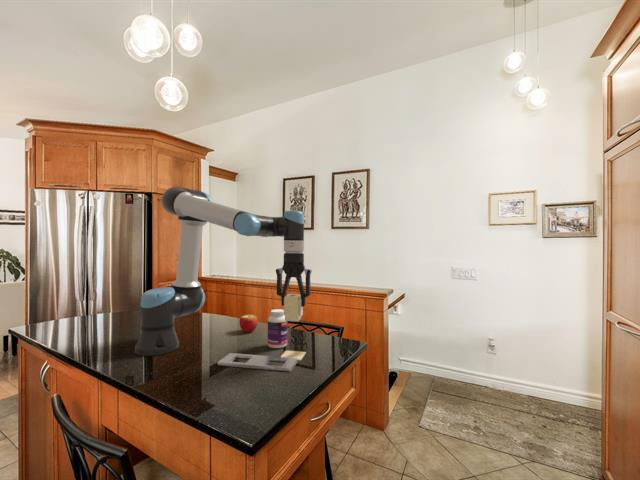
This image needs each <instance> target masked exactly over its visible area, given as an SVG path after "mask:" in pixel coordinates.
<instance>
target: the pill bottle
mask: <svg viewBox="0 0 640 480" xmlns="http://www.w3.org/2000/svg"><path fill="white" fill-rule="evenodd" d="M288 322H289V321H285V315H284V309H281V308H280V309H277V308H276V309H271V310H270V316H268V318H267V346H268V347H269V348H271V349H283V348H285V347H287V346H288Z"/></svg>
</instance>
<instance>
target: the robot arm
mask: <svg viewBox="0 0 640 480" xmlns="http://www.w3.org/2000/svg"><path fill="white" fill-rule="evenodd" d="M161 205H162V207H163V209H164V210H165V211H166V212H167V213H168V214H171V215H174V216H178V217H177V220H178V222H179V223H180V224H181V226H180V234H179V235H180V237H179V247H178V256H177V267H176V277H175V278H176V279H175V280H174V281H173V282H172V283H171V287H170V286H169V287H168V286H164V287H156V288H152V289H149V290H146V291H145V292H143V293H142V294H141V299H140V305H139V306H140V332H139V335H138V338H137V340H136V344H135V347H134V353H135V354H136V355H138V356H144V357H148V356H149V357H150V356H159V355H164V354H167V353H168V354H169V353H171V352H174V351H175V350H177V349H178V348H179V345H180V344H179V342H180V341H179V338H178V335H177V333H176V330H175V319H176V318H179V317H184V316H187V315H192V314H193V313H196V312H198V311H200V310H201V309H202V307H203V306H204V304H205V301H206V294H205V292H204V289H203V288H202V287H201V286H202V285H201V283H200V281H199V279H198V278H199V270H200V257H201V250H202V249H201V247H202V238H203V237H202V236H203V228H204V226H205V225H206V224H207V223H210V224H214V225H215V226H219V227H222V228H225V229H228V230H231V231H235V232H236V233H238V234H239V235H241V236H246V237H252V236H253V237H261V238H268V237H274V238H275V237H276V238H277V237H281V238H282V237H283V251H284V254H283V265H282V267H280V268H276V269H275V274H276V296H280V299H281V306H283V310H284V316H285V296H286V295H288V291H289V287H290V282H291V278H295V279H296V282H297V285H298V286H297V287H298V290H299V293H300V295H301V297H300V298H299V316H301V317H302V316H303V315H304V313H303V312H304V311H303V309H304V307H306V298H309V296H310V295H311V275H312V272H313V271H312V269H311V268H310V269H309V268H307V267H305V255H304V253H303V252H305V239H304V238H305V215H304V212H303V211H301V210H300V211H299V210H285V211H284V212H283V216H267V215H259V214H256V213H255V214H254V213H251V212H248V211H243V210H240V209H237V208H233V207H230V206H226V205H223V204H220V203H217V202H214V201H213V199H212V197H211V196H210V195H209V194H208V193H206V192H204V191H201V190H197V189H191V188H188V187H187V188H186V187H182V186H172V187H170V188H167V189H166V190H165V191H164V192H163V194H162V197H161ZM283 273H285V274H284V275H285V278H284V283H283ZM303 273H304V274H305V287H304V283H303V278H302V274H303ZM282 286H283V287H282Z"/></svg>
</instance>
